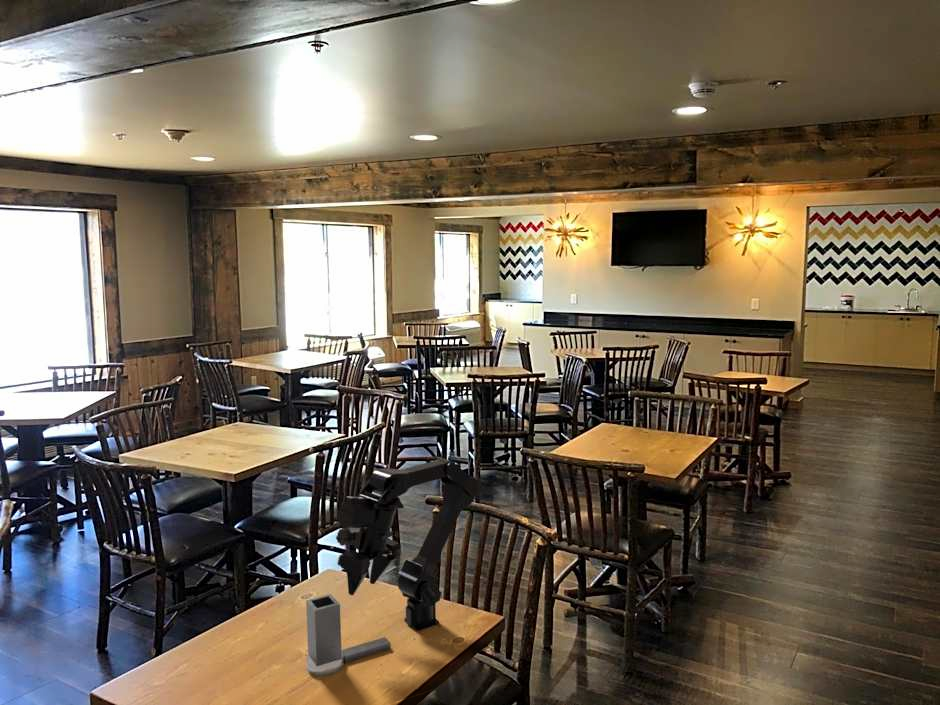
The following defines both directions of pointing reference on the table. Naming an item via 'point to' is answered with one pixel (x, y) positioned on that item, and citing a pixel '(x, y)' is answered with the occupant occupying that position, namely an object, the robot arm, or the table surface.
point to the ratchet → (348, 656)
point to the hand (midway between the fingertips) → (361, 588)
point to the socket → (324, 629)
